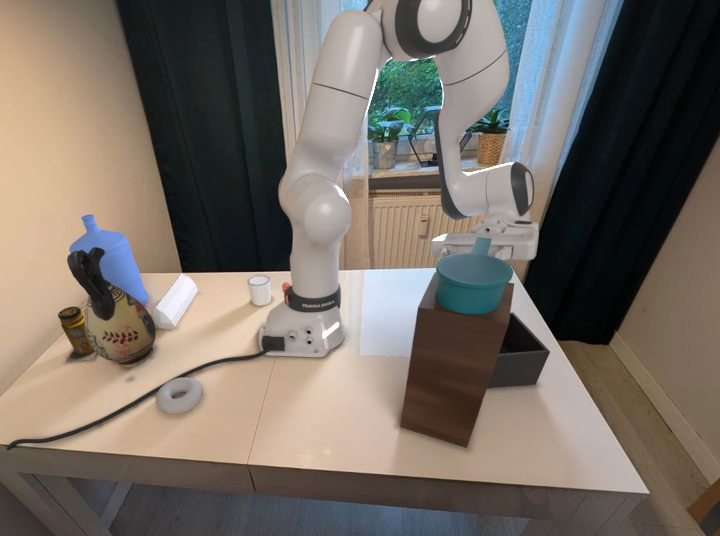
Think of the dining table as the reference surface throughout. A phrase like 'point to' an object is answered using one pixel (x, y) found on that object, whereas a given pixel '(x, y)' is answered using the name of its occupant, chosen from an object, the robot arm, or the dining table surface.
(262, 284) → the shot glass
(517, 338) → the dark grey open box
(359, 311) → the dining table surface
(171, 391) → the donut
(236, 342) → the dining table surface
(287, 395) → the dining table surface
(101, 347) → the ceramic jug
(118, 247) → the water jug
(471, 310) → the cup
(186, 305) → the white hexagonal prism
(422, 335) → the walnut wood pedestal
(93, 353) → the condiment
